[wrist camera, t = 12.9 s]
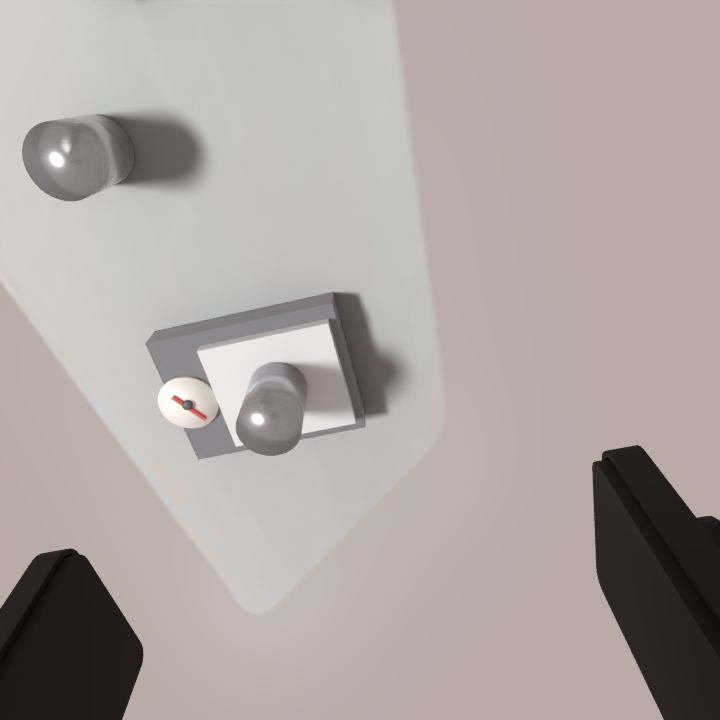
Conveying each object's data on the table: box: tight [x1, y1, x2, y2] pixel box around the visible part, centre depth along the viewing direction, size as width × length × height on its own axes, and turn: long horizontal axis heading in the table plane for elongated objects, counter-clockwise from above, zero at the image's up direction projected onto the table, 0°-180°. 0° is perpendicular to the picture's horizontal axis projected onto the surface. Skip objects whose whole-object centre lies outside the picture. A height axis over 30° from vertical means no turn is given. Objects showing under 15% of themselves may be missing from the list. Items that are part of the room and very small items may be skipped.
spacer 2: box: [236, 362, 308, 456], centre depth 36 cm, size 4×4×5 cm
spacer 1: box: [22, 115, 135, 201], centre depth 31 cm, size 4×4×5 cm
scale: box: [146, 292, 365, 459], centre depth 39 cm, size 10×14×3 cm
